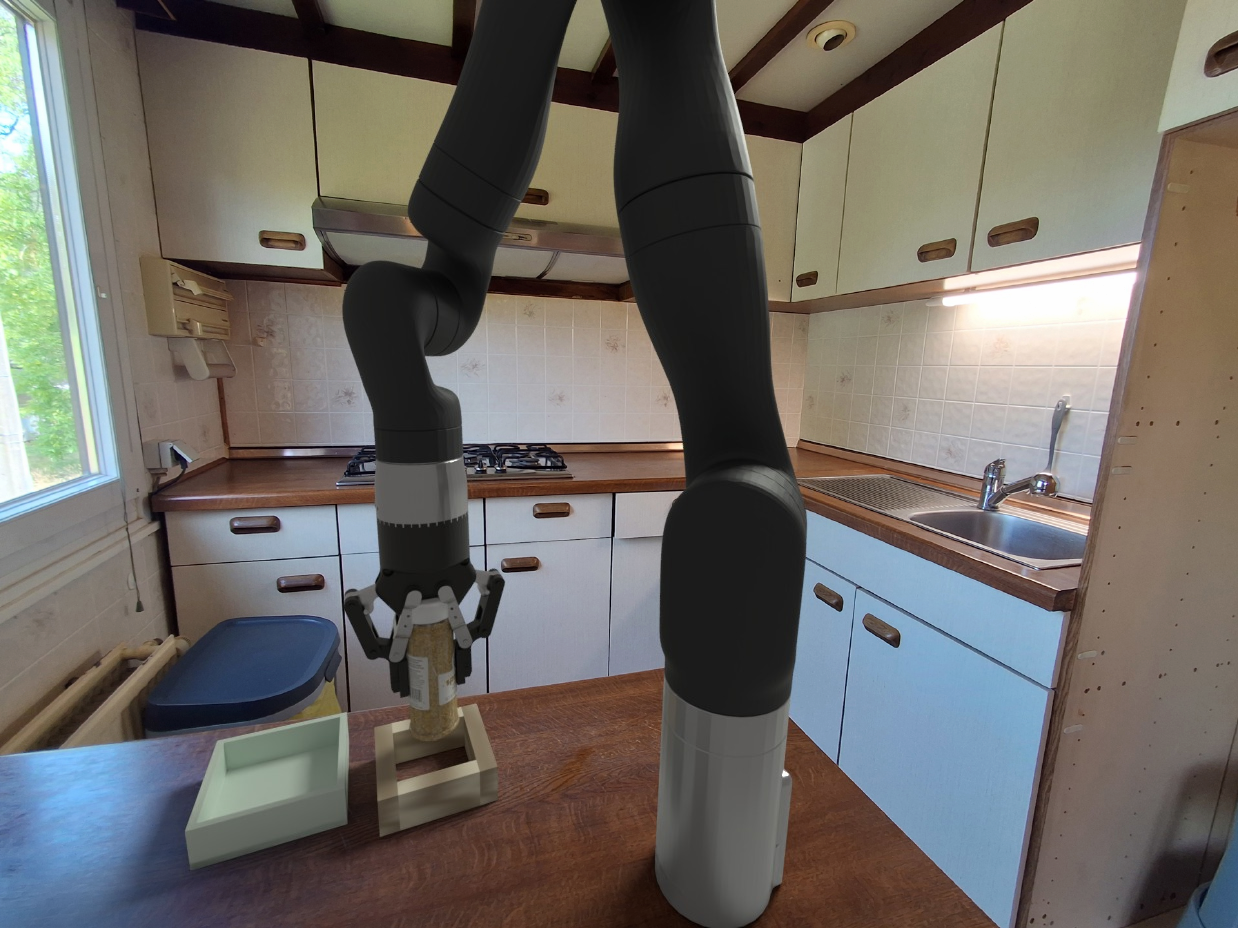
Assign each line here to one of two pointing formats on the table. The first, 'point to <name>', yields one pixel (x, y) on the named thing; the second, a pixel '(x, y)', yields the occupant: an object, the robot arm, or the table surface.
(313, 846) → the table surface
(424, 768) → the table surface
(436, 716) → the sprinkles bottle
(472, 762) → the socket block
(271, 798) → the tray
